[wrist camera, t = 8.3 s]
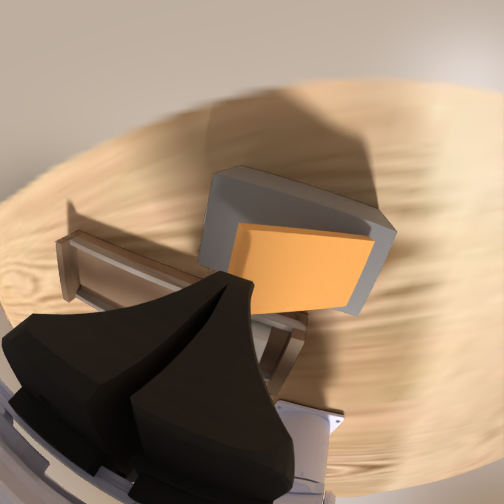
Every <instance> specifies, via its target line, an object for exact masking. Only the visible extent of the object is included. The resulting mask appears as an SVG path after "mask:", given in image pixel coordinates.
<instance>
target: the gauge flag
mask: <svg viewBox="0 0 504 504" xmlns="http://www.w3.org/2000/svg"><path fill="white" fill-rule="evenodd" d="M374 242H375V241H374V240H373V239H371V238H370V237H368V236H364V235H356V234H347V233H338V232H329V231H320V230H310V229H301V228H290V227H280V226H269V225H258V224H247V223H239V224H238V228H237V233H236V237H235V241H234V246H233V250H232V255H231V259H230V264H229V268H228V273H229V274H232V275H235V276H238V277H241V278H244V279H247V280H250V281H253V283H254V285H255V286H254V290H253V293H252V297H251V314H266V313H280V312H292V311H304V310H315V309H325V308H334V307H343V306H346V305H347V303H348V301H349V299H350V297H351V295H352V293H353V291H354V288H355V286H356V284H357V282H358V280H359V278H360V275H361V273H362V271H363V269H364V266H365V264H366V262H367V259H368V257H369V255H370V252H371V250H372V247H373V245H374Z"/></svg>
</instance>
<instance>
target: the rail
mask: <svg viewBox="0 0 504 504" xmlns="http://www.w3.org/2000/svg"><path fill="white" fill-rule="evenodd" d="M55 242H56V252H57V261H58V269H59V276H60V282H61V289H62V294H63V299H64V300H66V301H67V302H70V301H72V300H73V299H74V298H78V299H80V300H81V301H83V302H85V303H86V304H88V305H90V306H92V307H93V308H95V309H97V310H99V311H100V312H103V311H109V310H114V309H120V308H125V307H130V306H134V305H138V304H141V303H145V302H148V301H152V300H155V299H158V298H161V297H163V296H166V295H168V294H171V293H173V292H176V291H178V290H181V289H183V288H185V287H187V286H189V285H192V284H194V283H196V282H198V281H200V280H202V279H201V278H198V277H195V276H192V275H190V274H187V273H184V272H182V271H179V270H176V269H174V268H171V267H168V266H166V265H163V264H161V263H158V262H155V261H153V260H150V259H148V258H145V257H143V256H140V255H137V254H135V253H132V252H130V251H127V250H125V249H122V248H120V247H118V246H115V245H113V244H110V243H108V242H105V241H103V240H101V239H98V238H96V237H93V236H91V235H89V234H86V233H84V232H82V231H79V230H77V231H75V232H73V233H71V234H69V235H67V236H65V237H63V238H61V239H59V240H57V241H55ZM251 319H252V320H255V321H258V322H261V323H264V324H267V325H270V326H272V328H271V332H270V335H269V338H268V341H267V344H266V347H265V349H264V352H263V354H262V357H261V359H260V362H259V366H260V370H261V373H262V376H263V378H264V381H265V382H266V383H268V386H267V389H268V392H269V394H271V395H274V396H277V394H278V392H279V391H280V389H281V387H282V385H283V383H284V381H285V379H286V378H287V376H288V374H289V372H290V370H291V368H292V366H293V364H294V362H295V360H296V358H297V356H298V354H299V352H300V350H301V348H302V346H303V344H304V342H305V336H306V329H307V321H308V315H307V314H304V313H301V312H298V311H292V312H280V313H266V314H251Z"/></svg>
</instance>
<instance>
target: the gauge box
mask: <svg viewBox="0 0 504 504" xmlns="http://www.w3.org/2000/svg"><path fill="white" fill-rule="evenodd" d="M239 223H247V224H258V225H269V226H280V227H290V228H301V229H310V230H320V231H329V232H338V233H347V234H356V235H364V236H368V237H370V238H371V239H373V240H374V241H375V242H374V245H373V247H372V250H371V252H370V255H369V257H368V259H367V262H366V264H365V266H364V269H363V271H362V273H361V275H360V278H359V280H358V282H357V284H356V286H355V288H354V291H353V293H352V295H351V297H350V299H349V301H348V303H347V305H346V306H343V307H334V308H331V309H334V310H338V311H341V312H344V313H347V314H351V315H354V316H357V317H358V315H359V313H360V311H361V309H362V307H363V305H364V304H365V302H366V300H367V298H368V296H369V294H370V292H371V290H372V287H373V285H374V283H375V281H376V279H377V277H378V275H379V273H380V271H381V268H382V266H383V264H384V262H385V259H386V257H387V255H388V253H389V250H390V248H391V245H392V243H393V241H394V238H395V236H396V233H397V231H396V230H395V228H394V227H393V226H392V225H391V223H390V222H389V221H388V220H387V218H386V217H385V216H384V215H383V213H382V212H381V211H380V210H379V209H377V208H374V207H371V206H369V205H366V204H363V203H360V202H358V201H355V200H352V199H349V198H346V197H343V196H341V195H338V194H335V193H332V192H329V191H326V190H323V189H320V188H316V187H313V186H310V185H307V184H304V183H300V182H297V181H294V180H291V179H287V178H284V177H280V176H277V175H273V174H270V173H266V172H262V171H259V170H255V169H251V168H248V167H244V166H237V167H234V168H231V169H227V170H224V171H220V172H217V173H214V175H213V180H212V185H211V190H210V195H209V200H208V205H207V209H206V213H205V218H204V228H203V233H202V239H201V245H200V251H199V257H198V265H201V266H204V267H207V268H210V269H213V270H216V271H223V272H226V273H228V268H229V264H230V259H231V255H232V250H233V246H234V241H235V237H236V233H237V228H238V224H239Z"/></svg>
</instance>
